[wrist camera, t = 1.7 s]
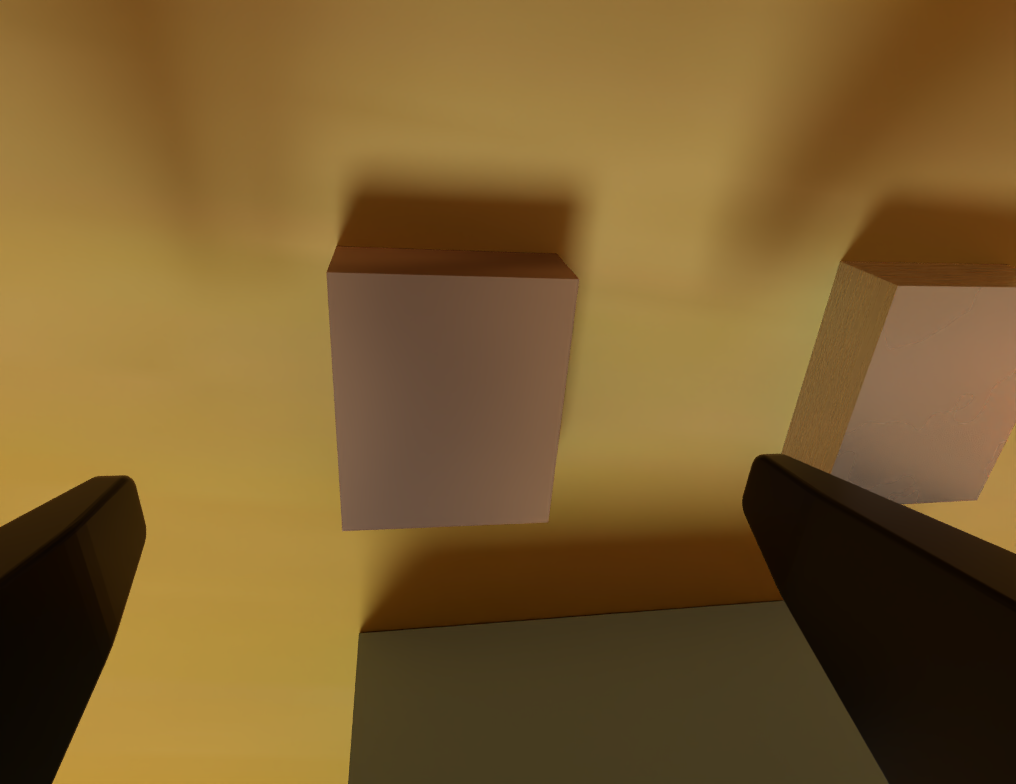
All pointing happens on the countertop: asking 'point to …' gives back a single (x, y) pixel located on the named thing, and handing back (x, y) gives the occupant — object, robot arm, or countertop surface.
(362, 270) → the walnut tile
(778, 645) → the grey holed block
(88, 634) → the robot arm
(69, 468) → the countertop surface
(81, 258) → the countertop surface
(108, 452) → the countertop surface
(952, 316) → the steel tile
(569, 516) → the countertop surface
